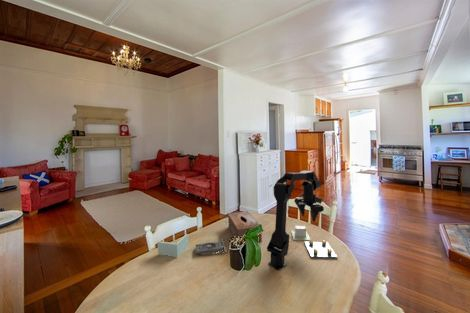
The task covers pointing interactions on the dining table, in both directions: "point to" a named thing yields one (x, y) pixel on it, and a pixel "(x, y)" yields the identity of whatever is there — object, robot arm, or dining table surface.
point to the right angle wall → (173, 247)
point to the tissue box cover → (242, 223)
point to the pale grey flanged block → (300, 234)
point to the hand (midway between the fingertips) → (308, 218)
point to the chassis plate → (320, 250)
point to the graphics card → (210, 248)
